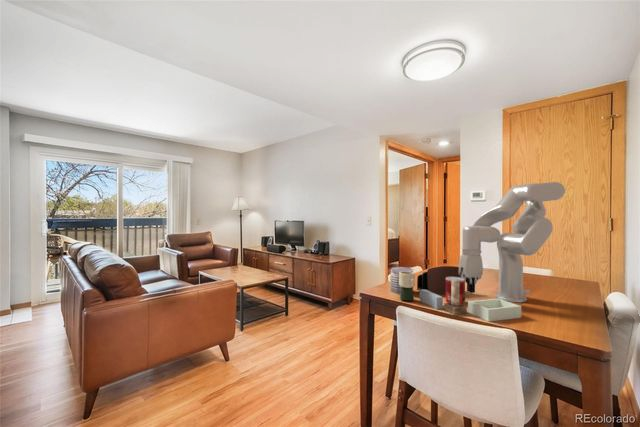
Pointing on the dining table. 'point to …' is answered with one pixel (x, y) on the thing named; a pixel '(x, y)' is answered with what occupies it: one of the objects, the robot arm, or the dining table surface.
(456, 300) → the dowel
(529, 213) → the robot arm
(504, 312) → the tray
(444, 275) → the letter holder
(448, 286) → the canned food
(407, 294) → the character mug
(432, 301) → the block
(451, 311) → the socket block
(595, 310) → the dining table surface
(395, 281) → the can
